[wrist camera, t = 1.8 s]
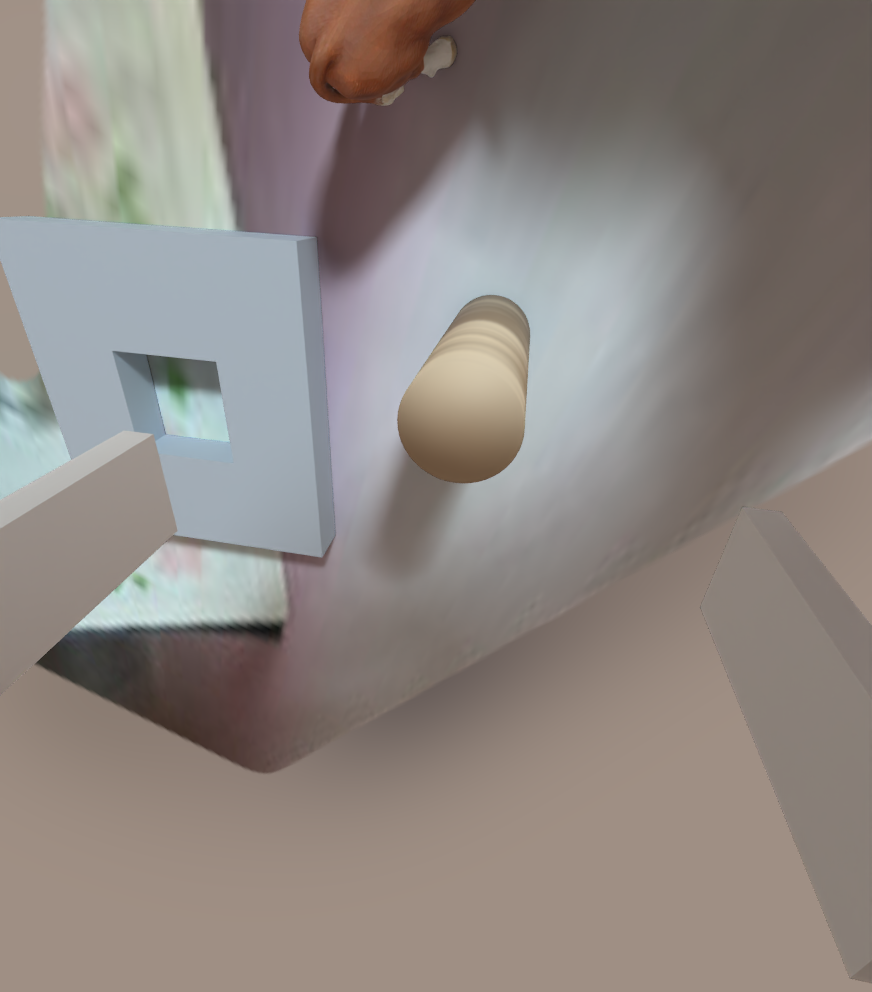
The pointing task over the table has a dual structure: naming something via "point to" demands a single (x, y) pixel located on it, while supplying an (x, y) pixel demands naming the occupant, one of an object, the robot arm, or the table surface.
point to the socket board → (191, 335)
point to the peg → (470, 395)
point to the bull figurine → (375, 45)
